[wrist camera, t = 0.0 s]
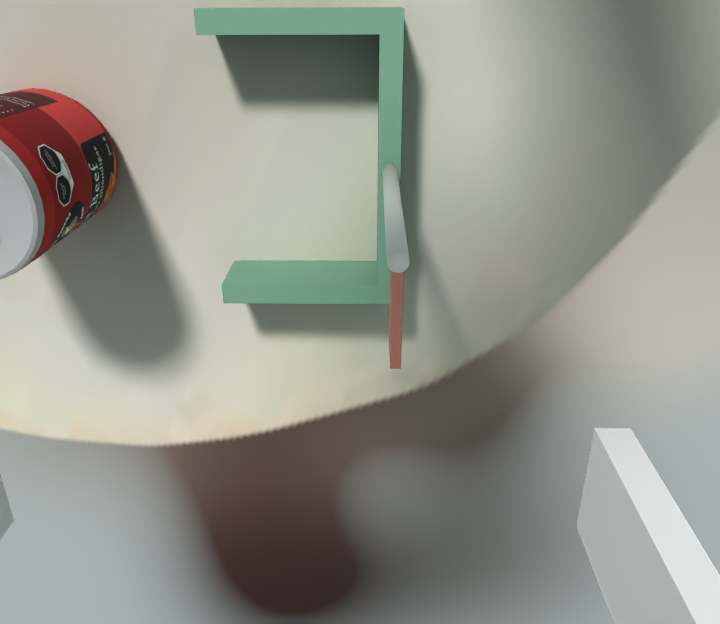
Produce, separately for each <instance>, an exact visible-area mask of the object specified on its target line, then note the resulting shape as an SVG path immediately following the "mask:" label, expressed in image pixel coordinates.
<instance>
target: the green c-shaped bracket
mask: <svg viewBox="0 0 720 624" xmlns="http://www.w3.org/2000/svg"><path fill="white" fill-rule="evenodd" d="M194 17H195V27H196V35H361V34H379V100H378V221H377V261H234V263H233V265H232V267H231V269H230V271H229V272H228V274H227V276H226V278H225V280H224V282H223V283H222V292H223V302H224V303H266V304H389V350H390V368H396V369H401V344H402V306H403V272H404V271H405V270H406V269H407V268H408V267H409V264H410V260H409V253H408V246H407V238H406V231H405V224H404V217H403V210H402V203H401V195H400V173H401V130H402V86H403V43H404V8H401V7H398V8H200V9H194Z"/></svg>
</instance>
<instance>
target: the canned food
mask: <svg viewBox="0 0 720 624" xmlns="http://www.w3.org/2000/svg"><path fill="white" fill-rule="evenodd" d="M117 167H118V166H117V158H116V152H115V149H114V146H113V143H112V141H111V139H110V137H109V135H108V133H107V131H106V129H105V128H104V127H103V125H102V124H101V122H100V121H99V120H98V119H97V118H96V117H95V116H94V115H93V114H92V113H91V112H90V111H89V110H88V109H87V108H85V107H84V106H83V105H81V104H80V103H78V102H77V101H75V100H73V99H71V98H69V97H67V96H65V95H62V94H60V93H56V92H53V91H49V90H45V89H35V88H32V89H24V90H18V91H13V92H9V93H5V94H0V279H3V278H6V277H8V276H10V275H12V274H14V273H16V272H17V271H19V270H21V269H22V268H24V267H25V266H27V265H28V264H29V263H31V262H32V261H34V260H36V259H37V258H38V257H39V256H41V255H42V254H43V253H45V252H46V251H47V250H49V249H50V248H51V247H53V246H54V245H55V244H56V243H58V242H59V241H60V240H62V239H63V238H64V237H66V236H67V235H68V234H69V233H71V232H72V231H73V230H75V229H76V228H77V227H79V226H80V225H81V224H83V223H84V222H85V221H86V220H88V219H89V218H90V217H92V216H93V215H94V214H96V213H97V212H98V211H99V210H100V209H101V208H102V207H103V206H104V205H105V204H106V203H107V202H108V200H109V198H110V196H111V195H112V193H113V190H114V186H115V183H116V178H117Z"/></svg>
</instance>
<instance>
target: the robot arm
mask: <svg viewBox="0 0 720 624" xmlns="http://www.w3.org/2000/svg"><path fill="white" fill-rule="evenodd" d="M13 521H14V519H13V515H12V512H11V509H10V505H9V502H8V498H7V495H6V492H5V488H4V485H3V482H2V479H1V475H0V540H1V538H2V537H3V535H4V534H5V532H6V531H7V529H8V528H9V526H10V525H11V523H12V522H13ZM576 527H577V530H578V532H579V535H580V537H581V540H582V543H583V545H584V548H585V550H586V553H587V555H588V558H589V561H590V563H591V566H592V568H593V571H594V574H595V576H596V579H597V581H598V584H599V586H600V589H601V591H602V594H603V597H604V599H605V602H606V604H607V607H608V610H609V612H610V615H611V617H612V620H613V623H614V624H720V575H719V574H718V572H717V570H716V569H715V567H714V565H713V564H712V562H711V560H710V559H709V557H708V555H707V554H706V552H705V551H704V549H703V547H702V546H701V544H700V542H699V541H698V539H697V537H696V536H695V534H694V532H693V531H692V529H691V527H690V526H689V524H688V522H687V521H686V519H685V517H684V516H683V514H682V512H681V511H680V509H679V507H678V506H677V504H676V503H675V501H674V499H673V498H672V496H671V495H670V493H669V491H668V489H667V488H666V486H665V484H664V483H663V481H662V479H661V478H660V476H659V474H658V473H657V471H656V469H655V468H654V466H653V465H652V463H651V461H650V460H649V458H648V456H647V455H646V453H645V451H644V450H643V448H642V446H641V445H640V443H639V441H638V440H637V438H636V437H635V435H634V433H633V432H632V430H631V428H594V433H593V438H592V444H591V449H590V455H589V460H588V466H587V471H586V477H585V483H584V488H583V493H582V499H581V504H580V510H579V515H578V521H577V526H576Z"/></svg>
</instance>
